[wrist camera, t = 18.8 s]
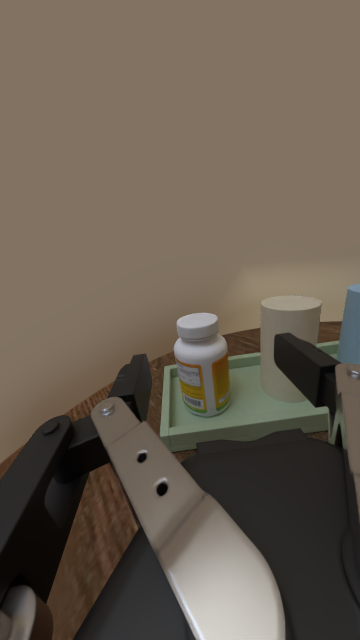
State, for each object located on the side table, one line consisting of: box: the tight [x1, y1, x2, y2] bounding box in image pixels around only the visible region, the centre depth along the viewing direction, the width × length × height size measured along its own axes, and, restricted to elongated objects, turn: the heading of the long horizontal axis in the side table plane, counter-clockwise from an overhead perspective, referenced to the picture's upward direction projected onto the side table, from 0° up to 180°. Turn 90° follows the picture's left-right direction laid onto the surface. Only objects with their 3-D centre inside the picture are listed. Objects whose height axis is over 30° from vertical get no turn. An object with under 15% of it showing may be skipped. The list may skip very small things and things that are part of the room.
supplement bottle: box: [174, 313, 231, 417], centre depth 19 cm, size 5×5×10 cm
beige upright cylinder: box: [260, 295, 322, 403], centre depth 19 cm, size 5×5×10 cm
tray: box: [160, 341, 339, 452], centre depth 21 cm, size 28×11×2 cm, turn 92°
